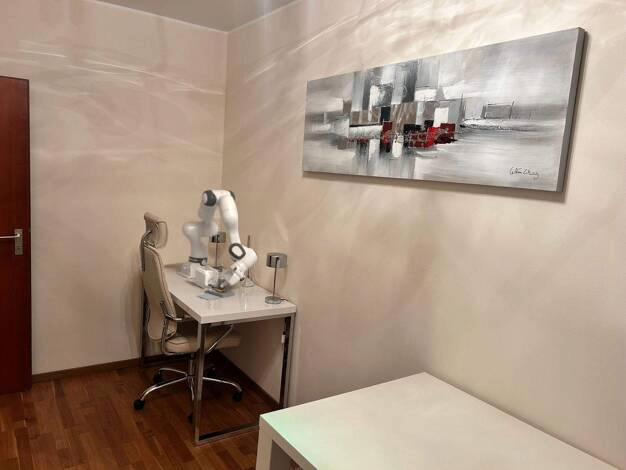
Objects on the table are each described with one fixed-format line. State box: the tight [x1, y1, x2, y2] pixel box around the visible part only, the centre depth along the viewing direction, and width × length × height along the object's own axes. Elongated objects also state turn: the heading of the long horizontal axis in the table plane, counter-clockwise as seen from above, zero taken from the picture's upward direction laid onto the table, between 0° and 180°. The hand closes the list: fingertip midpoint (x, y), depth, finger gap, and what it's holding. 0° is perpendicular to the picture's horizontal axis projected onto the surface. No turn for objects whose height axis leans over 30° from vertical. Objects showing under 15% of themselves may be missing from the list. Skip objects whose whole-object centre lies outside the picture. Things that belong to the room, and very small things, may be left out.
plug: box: [217, 276, 226, 293], centre depth 297 cm, size 5×5×10 cm
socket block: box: [206, 287, 236, 299], centre depth 298 cm, size 14×10×3 cm
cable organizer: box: [194, 266, 220, 289], centre depth 314 cm, size 15×11×12 cm
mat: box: [196, 293, 221, 301], centre depth 289 cm, size 10×9×1 cm
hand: (219, 285), depth 297 cm, fingers closed on plug, 4 cm apart
